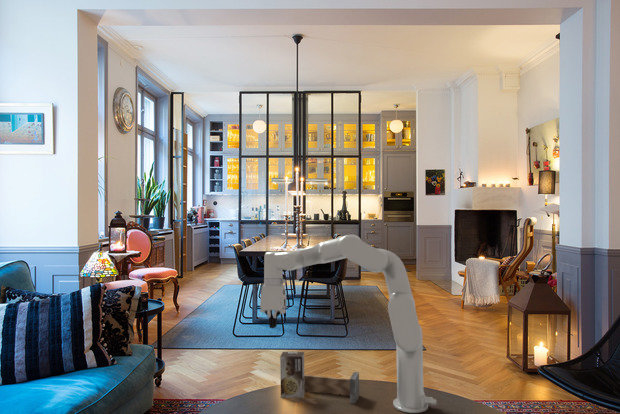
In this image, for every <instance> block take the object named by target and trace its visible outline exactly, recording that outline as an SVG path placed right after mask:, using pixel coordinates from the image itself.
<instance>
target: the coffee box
mask: <svg viewBox="0 0 620 414" xmlns="http://www.w3.org/2000/svg"><path fill="white" fill-rule="evenodd" d="M279 358H280V359H279V362H280V366H279V367H280V368H279V370H280V372H279V373H280V398H281V399H284V398H287V399H289V398H290V399H291V397H299V398H305V397H304V396H305V393H306V391H305V384H304V375H305V351H282V352H281V355H280V356H279Z"/></svg>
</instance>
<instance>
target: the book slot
mask: <svg viewBox="0 0 620 414" xmlns="http://www.w3.org/2000/svg"><path fill="white" fill-rule="evenodd" d="M304 384H305V392H310V391H311V392H310V393H320V392H323V393H322V394H329V393H332V394H331V395H339V394H341V396H348V395H350V396H349V404H350V403H351V404H352V405H356V404H355V403H357V401H358V399H359V396H360V372H359V371H353V373H352V374H351V376H350V378H341V377H340V378H339V377H331V376H330V377H329V376H319V375H308V374H304ZM290 402H294V403H302V404H311V405H317V404H318V399H315V398H314V399H313V398H306V397H303V398H299V397H291V398H290Z"/></svg>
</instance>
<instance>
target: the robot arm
mask: <svg viewBox="0 0 620 414" xmlns="http://www.w3.org/2000/svg"><path fill="white" fill-rule="evenodd" d="M264 253H265V254H264V258H263V259H264V262H263V265H264V267H263V270H264V271H263V274H264V275H263V276H264V277H263V278H264V279H263V285H262V287H261V292H260V303H259V304H260V305H259V306H260V311H259V312H261V313H264V314H265V315H266V316H267V318H268V326H269V329H275V328H276V327H277V326H278V317H279V316H280V315H283V314H285V313H286V311H287V309H286V308H287V305H288V304H287V293H286V287H285V285H284V284H285V283H286V282H287V281H286V279H284V277H283V273H284V272H283V270H284V271H294V270H298V269H301V268H305V267H309V266H313V265H317V264H318V265H319V264H327V263H331V262H336V261H339V260H343V259H348V260H349V261H350V262H353V263H354V264H356V265H358V266H360V267H362V268H364V269H366V270H367V271H369V272H371V273H374V274H375V273H382V274H383V276H384V279H385V286H386V288H387V293H388V303H387V311H388V312H387V313H388V317H389V319H390V325H391V328H392V329H391V330H392V334H393V337H394V342H395V344H396V348H395V349H396V398H395V399H393V402H392V404H393V407H394V408H395V409H396V410H398V411H400V412H403V413H409V414H419V413H423V412H426V411H427V410H428V409H429V405H431V406H437V399H435V398H434V397H432V396H427V395H425V393H426V392H424V360H423V359H424V355H423V353H424V352H423V351H424V350H423V348H424V346H423V344H424V343H423V329H422V326H421V325H420V323H419V319H418V318H419V317H418V314H417V310H416V302H415V298H414V296H413V292H412V288H411V285H410V281H409V277H408V273H407V270H406V267H405V265H404V263H403V260H401V258H400V257H399V256H398V255H397V254H396V253H394V252H392V251H390V250H387V249H385V248H376V247H374V246H372V245H370V244H368V243H367V242H365V241H363V240H362V239H361V238H360V236H358V235H356V234H346V235H343V236H340V237H337V238H332V239H329V240H324V241H322V242H318V243H317V244H315V245H313V246H310V247H306V248H302V249H298V250H292V251H283V252H282V251H281V252H280V251H267V252H264Z"/></svg>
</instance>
